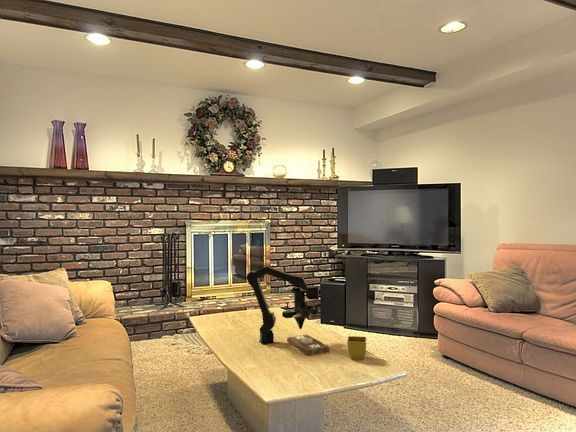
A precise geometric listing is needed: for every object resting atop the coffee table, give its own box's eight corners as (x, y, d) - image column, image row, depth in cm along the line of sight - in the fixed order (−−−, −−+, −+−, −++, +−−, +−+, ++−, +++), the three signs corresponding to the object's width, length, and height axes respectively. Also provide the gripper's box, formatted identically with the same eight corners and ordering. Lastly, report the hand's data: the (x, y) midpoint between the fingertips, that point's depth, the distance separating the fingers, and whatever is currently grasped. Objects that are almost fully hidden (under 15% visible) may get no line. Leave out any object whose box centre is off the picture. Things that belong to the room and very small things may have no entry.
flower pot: (366, 361, 190) (366, 342, 190) (347, 361, 192) (346, 341, 192) (366, 355, 199) (366, 336, 199) (348, 354, 200) (348, 336, 201)
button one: (298, 343, 220) (298, 338, 220) (295, 341, 223) (295, 336, 223) (305, 342, 221) (305, 337, 221) (302, 340, 225) (302, 335, 225)
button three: (313, 352, 204) (313, 347, 204) (309, 350, 208) (309, 344, 208) (320, 351, 206) (320, 345, 206) (316, 348, 209) (316, 343, 209)
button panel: (307, 355, 200) (307, 350, 201) (287, 342, 223) (287, 337, 223) (329, 351, 205) (329, 346, 205) (307, 339, 228) (307, 334, 228)
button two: (305, 345, 212) (305, 340, 212) (302, 343, 215) (302, 338, 215) (312, 344, 213) (312, 339, 213) (309, 342, 217) (309, 337, 217)
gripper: (289, 304, 211) (290, 335, 211) (322, 300, 219) (323, 330, 219) (281, 300, 221) (282, 329, 221) (312, 297, 229) (313, 325, 229)
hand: (300, 328), depth 222 cm, fingers closed
